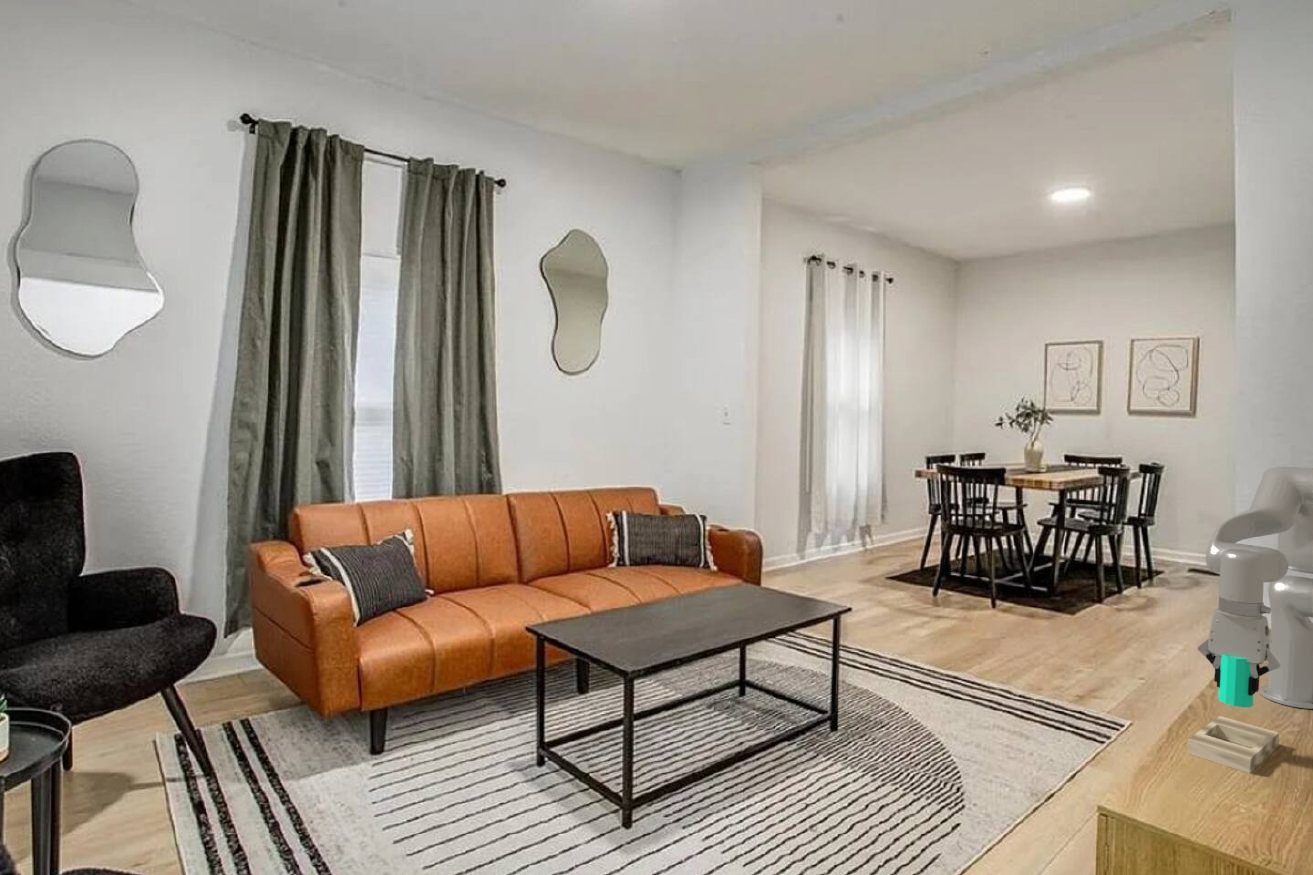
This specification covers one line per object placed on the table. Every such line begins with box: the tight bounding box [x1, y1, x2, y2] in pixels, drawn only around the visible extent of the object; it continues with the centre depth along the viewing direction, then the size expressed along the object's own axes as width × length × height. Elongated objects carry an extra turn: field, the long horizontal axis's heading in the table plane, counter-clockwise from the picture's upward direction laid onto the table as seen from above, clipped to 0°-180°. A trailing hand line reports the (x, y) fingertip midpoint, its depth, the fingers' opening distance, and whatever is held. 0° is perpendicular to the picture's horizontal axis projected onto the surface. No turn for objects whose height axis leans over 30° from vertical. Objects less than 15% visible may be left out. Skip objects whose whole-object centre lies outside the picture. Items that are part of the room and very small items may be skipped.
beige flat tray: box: [1186, 715, 1280, 774], centre depth 165 cm, size 20×11×3 cm, turn 127°
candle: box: [1217, 655, 1254, 709], centre depth 164 cm, size 6×6×12 cm
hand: (1236, 688), depth 164 cm, fingers closed on candle, 4 cm apart
